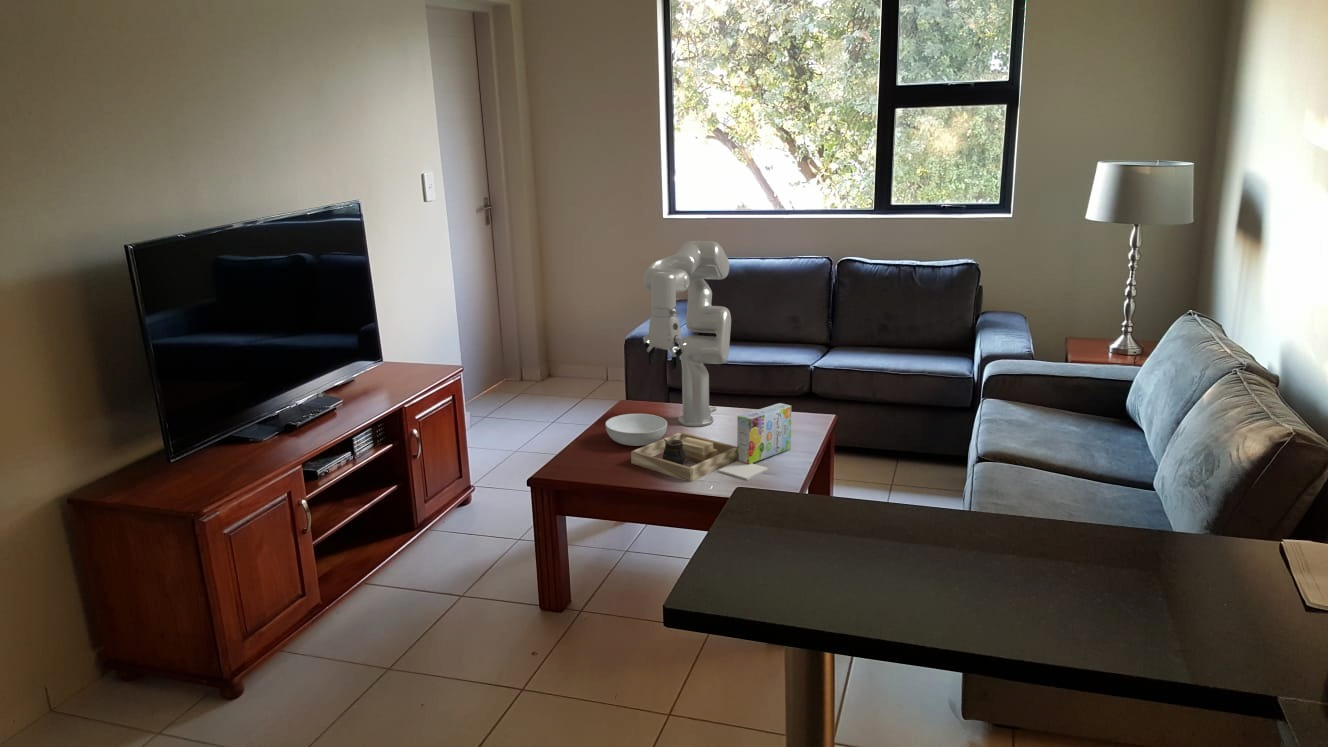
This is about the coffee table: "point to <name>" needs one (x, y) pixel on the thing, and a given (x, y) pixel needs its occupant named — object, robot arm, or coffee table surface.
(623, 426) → the serving bowl
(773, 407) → the snack box
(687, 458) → the slat walnut
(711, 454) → the slat oak
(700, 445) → the slat pine
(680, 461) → the mate gourd
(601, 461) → the coffee table surface
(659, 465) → the tray
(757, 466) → the mat
